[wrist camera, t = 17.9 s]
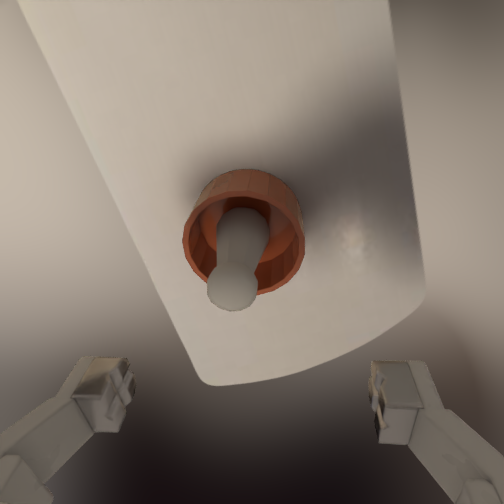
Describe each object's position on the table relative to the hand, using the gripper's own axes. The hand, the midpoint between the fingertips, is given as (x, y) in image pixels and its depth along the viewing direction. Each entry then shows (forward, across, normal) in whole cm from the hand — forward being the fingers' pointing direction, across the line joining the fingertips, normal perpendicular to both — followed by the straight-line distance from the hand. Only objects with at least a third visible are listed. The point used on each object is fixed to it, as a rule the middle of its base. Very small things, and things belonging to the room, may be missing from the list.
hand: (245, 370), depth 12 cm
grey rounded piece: (+27, +4, +9) cm, 29 cm away
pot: (+28, +4, +9) cm, 29 cm away
